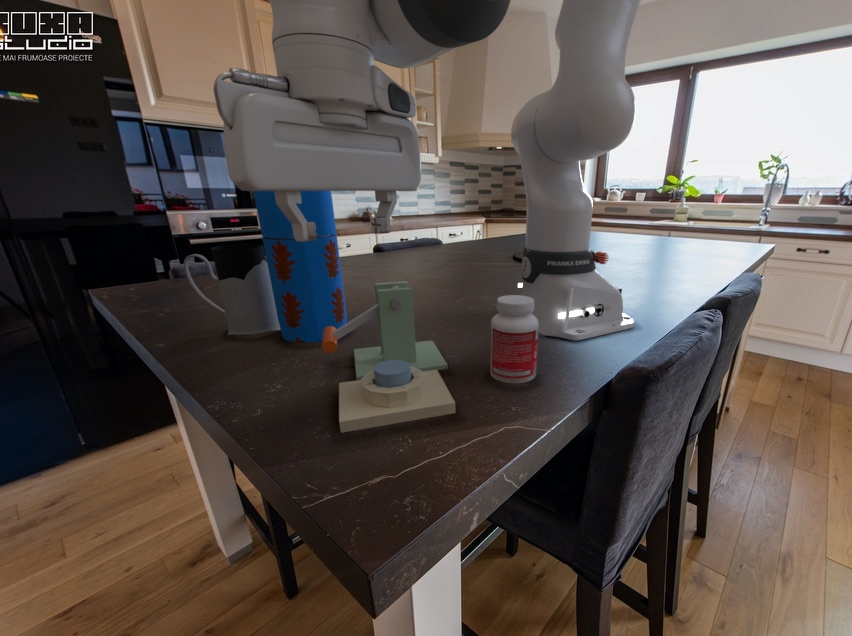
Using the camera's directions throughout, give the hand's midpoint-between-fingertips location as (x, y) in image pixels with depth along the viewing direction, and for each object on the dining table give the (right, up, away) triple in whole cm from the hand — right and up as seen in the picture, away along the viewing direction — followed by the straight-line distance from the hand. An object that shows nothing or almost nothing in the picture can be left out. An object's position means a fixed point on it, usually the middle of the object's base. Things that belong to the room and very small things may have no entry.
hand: (346, 236), depth 43 cm
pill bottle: (+19, -17, +11) cm, 27 cm away
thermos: (-14, -11, +26) cm, 31 cm away
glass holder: (-29, -10, +28) cm, 41 cm away
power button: (+5, -16, +2) cm, 17 cm away
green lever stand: (+3, -15, +14) cm, 21 cm away
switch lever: (-1, -9, +11) cm, 14 cm away
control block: (+5, -19, +3) cm, 20 cm away
